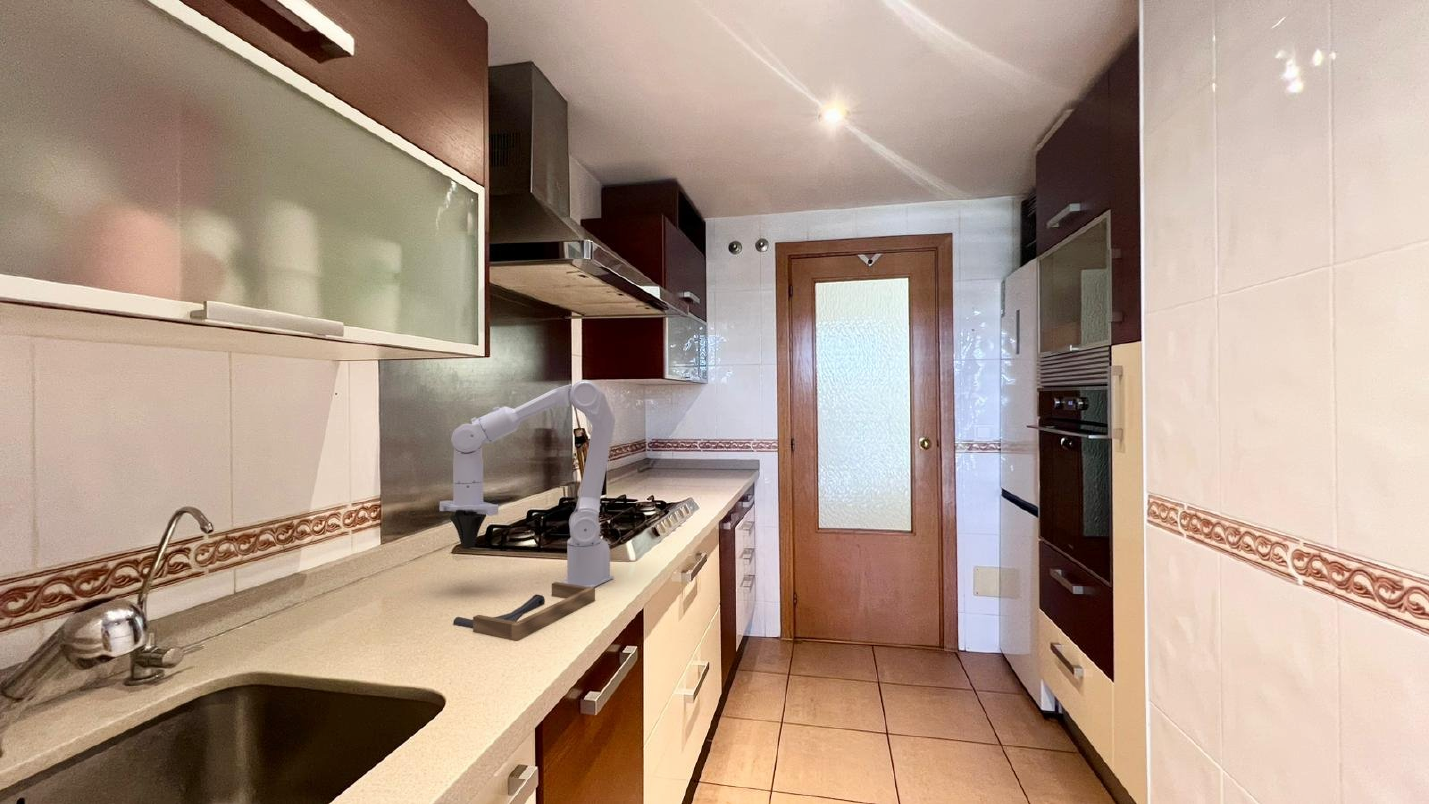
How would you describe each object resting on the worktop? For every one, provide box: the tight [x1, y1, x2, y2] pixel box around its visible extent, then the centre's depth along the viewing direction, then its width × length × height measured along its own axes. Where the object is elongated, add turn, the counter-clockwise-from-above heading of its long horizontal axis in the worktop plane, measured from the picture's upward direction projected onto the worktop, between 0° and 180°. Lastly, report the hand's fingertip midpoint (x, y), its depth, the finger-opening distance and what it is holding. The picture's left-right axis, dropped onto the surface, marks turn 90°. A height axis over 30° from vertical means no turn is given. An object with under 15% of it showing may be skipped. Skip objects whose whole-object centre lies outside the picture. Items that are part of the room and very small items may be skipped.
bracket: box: [452, 594, 546, 630], centre depth 105 cm, size 14×15×3 cm
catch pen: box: [472, 581, 596, 642], centre depth 106 cm, size 21×10×2 cm, turn 156°
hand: (468, 547), depth 119 cm, fingers closed
